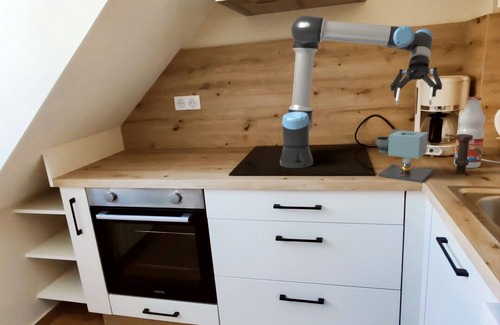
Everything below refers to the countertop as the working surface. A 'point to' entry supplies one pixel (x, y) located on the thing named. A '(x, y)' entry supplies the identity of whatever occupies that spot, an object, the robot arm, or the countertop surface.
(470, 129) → the fruit juice
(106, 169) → the countertop surface
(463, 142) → the bolt
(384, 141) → the mortar and pestle
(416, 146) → the sleeve
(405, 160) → the pipe stand
